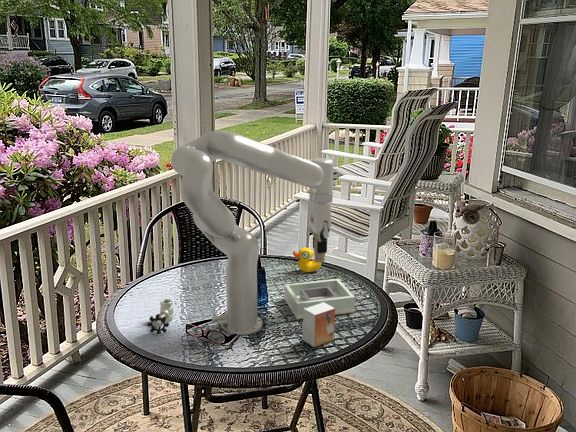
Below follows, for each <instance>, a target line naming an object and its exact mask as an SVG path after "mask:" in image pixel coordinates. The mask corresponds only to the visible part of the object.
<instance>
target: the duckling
mask: <svg viewBox="0 0 576 432" xmlns="http://www.w3.org/2000/svg"><path fill="white" fill-rule="evenodd" d="M292 254H293V256H294V258H296V259H299V260H298V262H297V266H298V268H299V269H300V271H302V272H303V273H312V272H317V270H319V269H320V268H321V266H322V262H321V263H320V262H316V261H315V258H314V259H313V260H311V259H312V257H313V256H314V250H312V249H310V248H309V247H302V248H300V249H299V250H298V252H296V250H293V251H292Z"/></svg>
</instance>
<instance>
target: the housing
mask: <svg viewBox="0 0 576 432" xmlns="http://www.w3.org/2000/svg"><path fill="white" fill-rule="evenodd" d="M283 286H284V294H283V295H284V297H283V298H284V300H285V302H286V304H287V305H288V307H289V309H290V310H291V312H292V314H293V315H294V317H295V318H296V320H301V319H302V320H303V309H304V308H308V307H311V306H314V305H317V304H320V303H322V302H324V303H326V304H328V305H330V306H332V307H333V308H335V316H336V315H342V314H350V313H355V310H356V309H355V308H356V296H355V295H354V294H353V292H351V291H350V290H349V289H348V288H347V286H345V285H344V283H343V282H342V281H341V280H340V279H339V278H334V279H325V280H317V281H316V280H315V281H305V282H295V283H287V284H284V285H283Z"/></svg>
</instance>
